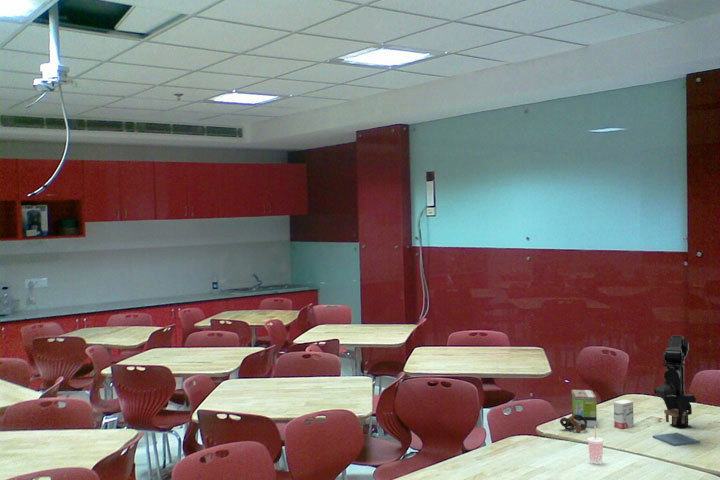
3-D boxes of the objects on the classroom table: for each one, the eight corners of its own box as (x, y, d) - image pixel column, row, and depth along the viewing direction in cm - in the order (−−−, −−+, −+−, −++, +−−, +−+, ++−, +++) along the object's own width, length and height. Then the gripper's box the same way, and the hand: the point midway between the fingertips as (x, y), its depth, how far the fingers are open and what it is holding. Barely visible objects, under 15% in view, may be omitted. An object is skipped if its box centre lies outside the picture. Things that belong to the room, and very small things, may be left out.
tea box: (597, 428, 307) (596, 396, 307) (575, 427, 309) (574, 396, 309) (592, 419, 322) (592, 389, 322) (571, 419, 324) (570, 388, 324)
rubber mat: (677, 434, 294) (676, 432, 294) (699, 442, 282) (699, 440, 282) (652, 437, 291) (652, 435, 291) (674, 446, 278) (674, 444, 278)
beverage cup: (591, 458, 265) (590, 423, 265) (606, 461, 262) (605, 426, 262) (585, 462, 261) (584, 427, 261) (601, 465, 257) (600, 429, 257)
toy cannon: (579, 427, 311) (586, 414, 307) (584, 441, 302) (591, 428, 299) (555, 422, 310) (561, 408, 306) (559, 436, 301) (566, 422, 298)
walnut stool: (675, 419, 290) (675, 408, 290) (686, 423, 284) (685, 411, 284) (664, 421, 288) (664, 409, 288) (674, 424, 283) (674, 413, 283)
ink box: (622, 429, 304) (622, 403, 304) (613, 427, 308) (612, 401, 308) (634, 426, 309) (633, 401, 309) (625, 423, 313) (624, 399, 313)
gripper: (643, 375, 293) (644, 411, 293) (674, 384, 275) (675, 421, 275) (664, 373, 296) (665, 408, 296) (696, 382, 278) (697, 419, 278)
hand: (675, 414), depth 286 cm, fingers closed on walnut stool, 6 cm apart
